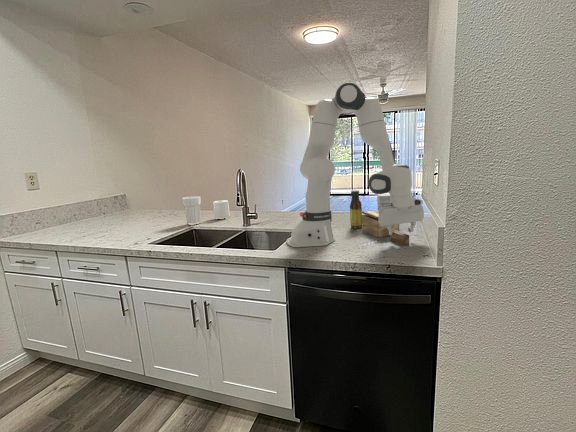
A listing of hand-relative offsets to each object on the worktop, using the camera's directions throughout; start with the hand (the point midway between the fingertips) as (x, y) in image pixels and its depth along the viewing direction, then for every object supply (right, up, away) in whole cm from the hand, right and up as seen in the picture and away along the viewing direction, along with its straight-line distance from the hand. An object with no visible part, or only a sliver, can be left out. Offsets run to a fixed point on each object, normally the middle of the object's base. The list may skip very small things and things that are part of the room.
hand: (401, 233), depth 142 cm
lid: (-4, +8, +18) cm, 20 cm away
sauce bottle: (-13, +1, +33) cm, 35 cm away
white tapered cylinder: (-95, +6, +82) cm, 125 cm away
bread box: (-4, -1, +19) cm, 20 cm away
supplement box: (+4, +2, +33) cm, 33 cm away
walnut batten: (-1, -4, 0) cm, 4 cm away
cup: (-110, +2, +69) cm, 130 cm away
